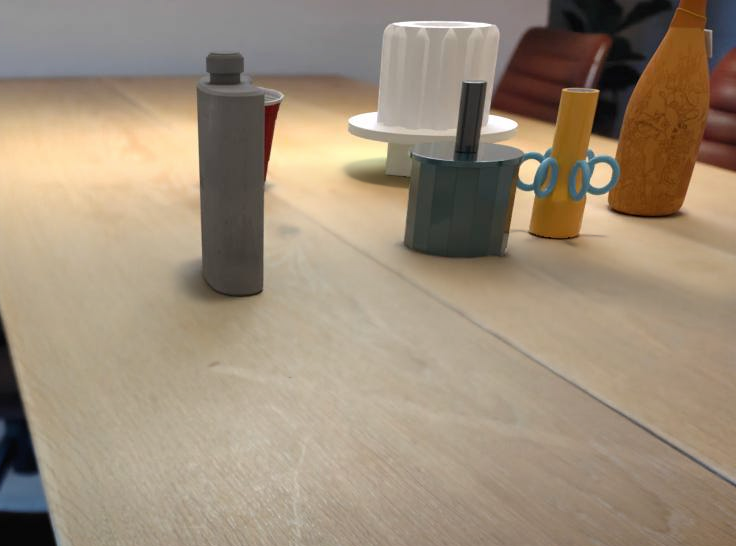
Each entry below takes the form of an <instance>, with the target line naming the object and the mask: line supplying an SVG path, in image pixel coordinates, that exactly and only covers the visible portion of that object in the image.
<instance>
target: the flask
mask: <svg viewBox="0 0 736 546" xmlns="http://www.w3.org/2000/svg"><path fill="white" fill-rule="evenodd" d="M205 72H206V73H208V74H209V75H205V76H202V77H200V78H199V80H198V81H197V82H196V85H195V86H196V113H197V115H196V117H197V140H198V141H197V144H198V147H197V148H198V172H199V173H198V174H199V177H198V178H199V204H200V206H199V209H200V233H201V264H202V265H201V267H202V268H201V269H202V275H203V277H204V279H205V281H206V282H207V283H208V285H209V286H211V288H212V289H214V290H215V291H217V292H218V293H220V294H224V295H225V296H226V295H227V296H235V297H239V296H240V297H242V296H243V297H244V296H252V295H256V294H259V292H261V291H262V290H263V289H264V266H265V265H264V263H265V262H264V259H265V258H264V256H265V255H264V252H265V248H264V247H265V244H264V243H265V242H264V241H265V185H264V124H265V92H264V91H263V90H262V89H260V88H258V87H259V86H255V85H253V79H252V78H251V77H250V76H248V75H245V74H244V75H243V73H244V72H245V56H243V55H242V53H240V51H236V50H213V51H209V53H208V54H207V55H206V56H205Z"/></svg>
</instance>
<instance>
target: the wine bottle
mask: <svg viewBox="0 0 736 546" xmlns="http://www.w3.org/2000/svg"><path fill="white" fill-rule="evenodd" d="M707 2H708V1H707V0H680V1H679V4H678V7H677V8H676V9H675V13H674V15H673V17H672V20H671V21H670V23H669V28H668V30H667V32H666V34H665V36H664V37H663V39H662V40H661V42H660V44H659V46H658V47H657V49H656V51H655V52H654V54H653V56H652V57H651V59H649V62H648V63H647V65H646V67H645V68H644V70H643V72H642V73H641V75H640V76H639V79H638V81H637V83H636V85H635V87H634V89H633V91H632V93H631V96H630V97H629V101H628V103H627V105H626V109H625V112H624V115H623V120H622V123H621V128H620V132H619V137H618V142H617V146H616V152H615V157H614V159H615V160H616V161H617V163H618V165H619V168H620V175H619V179H618V181H617V183H616V185H615V186H614V187H613V188H612V189H611V190H610V191H609V192H608V194H607V203H608V205H609V207H610V208H611V209H613V210H615V211H617V212H620V213H623V214H628V215H634V216H644V217H663V216H668V215H672V214H675V213H677V212H678V211H680V210H681V209H682V207H683V205H684V202H685V199H686V196H687V193H688V189H689V186H690V182H691V180H692V176H693V173H694V170H695V165H696V162H697V159H698V156H699V151H700V149H701V144H702V141H703V138H704V133H705V129H706V125H707V121H708V117H709V111H710V110H709V109H710V97H711V92H710V91H711V84H710V69H709V63H708V62H709V61H708V58H711V59H712V58H713V30H712V29H706V24H707V20H708V18H707V17H706V15H707V13H706V8H707ZM611 172H612V173H611V177H610V180H611V179H612V175H613V171H611Z"/></svg>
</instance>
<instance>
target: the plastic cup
mask: <svg viewBox="0 0 736 546" xmlns="http://www.w3.org/2000/svg"><path fill="white" fill-rule="evenodd" d="M257 87H258V88H260V89H262V90H263V91H264V92H265V124H264V186H265V185H266V181H267V174H268V169H269V162H270V160H271V154H272V153H271V152H272V147H273V140H274V135H275V128H276V121H277V119H278V115H279V114H278V113H279V110H280V106H281V104H282V102H283V100H284V99H285V95H284V94H283V93H282V92H281V91H278V90H275V89H271V88H265V87H260V86H257Z"/></svg>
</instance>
